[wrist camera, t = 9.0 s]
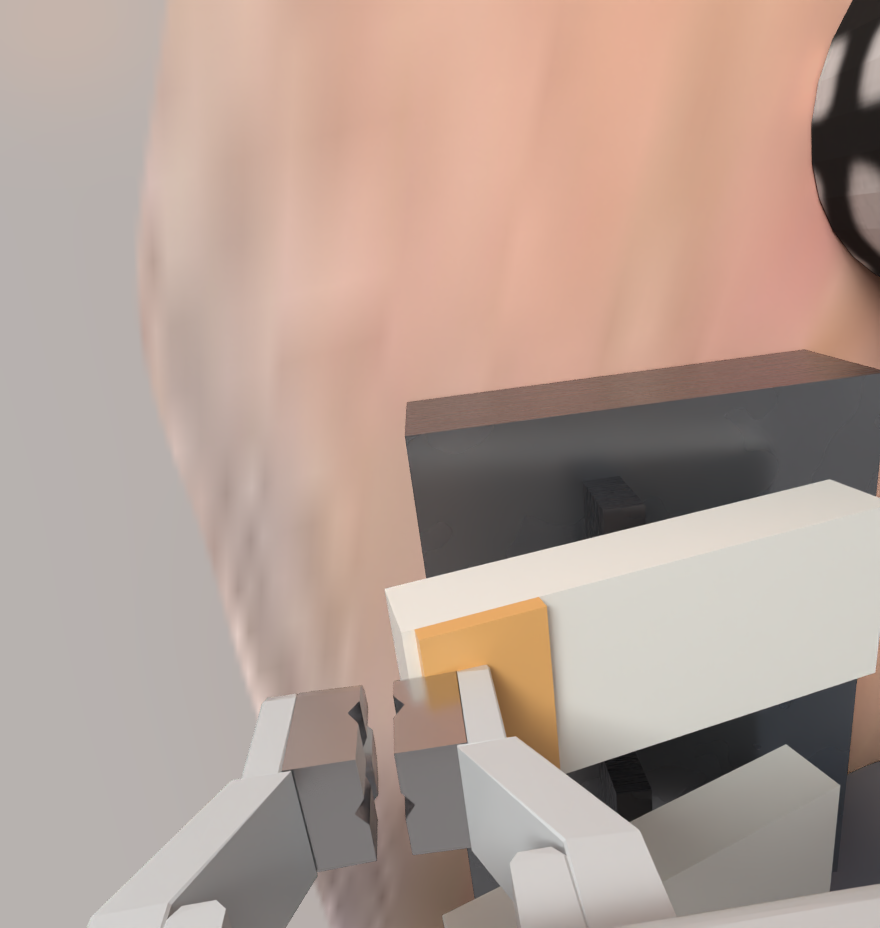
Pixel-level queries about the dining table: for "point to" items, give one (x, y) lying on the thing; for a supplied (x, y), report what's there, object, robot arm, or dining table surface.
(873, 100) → the white-spotted black cylinder
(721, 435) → the panel
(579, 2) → the dining table surface
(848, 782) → the blue cylinder
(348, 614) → the dining table surface
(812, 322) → the dining table surface
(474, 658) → the paddle
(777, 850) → the paddle
